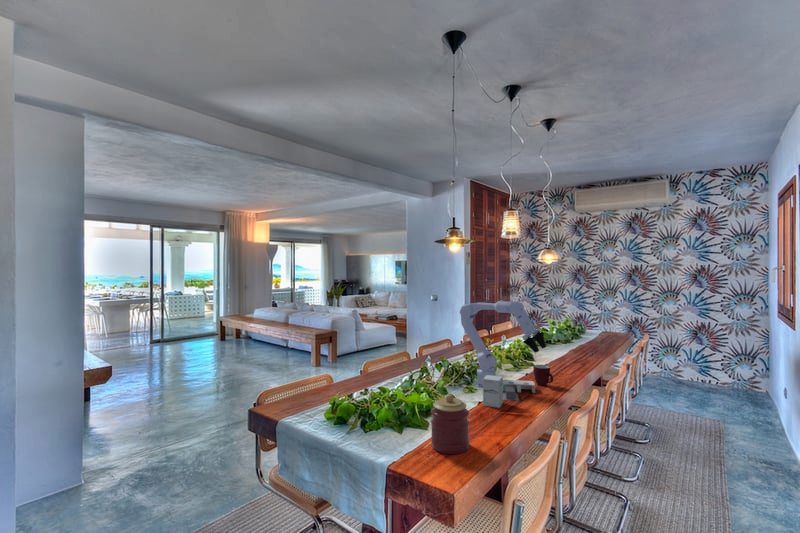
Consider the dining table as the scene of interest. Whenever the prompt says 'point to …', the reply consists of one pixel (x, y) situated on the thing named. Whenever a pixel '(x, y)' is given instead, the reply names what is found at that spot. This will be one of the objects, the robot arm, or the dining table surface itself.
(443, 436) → the canister
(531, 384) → the socket bar
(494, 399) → the supplement box
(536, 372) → the mug
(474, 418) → the dining table surface
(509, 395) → the plug
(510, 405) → the dining table surface
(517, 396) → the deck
